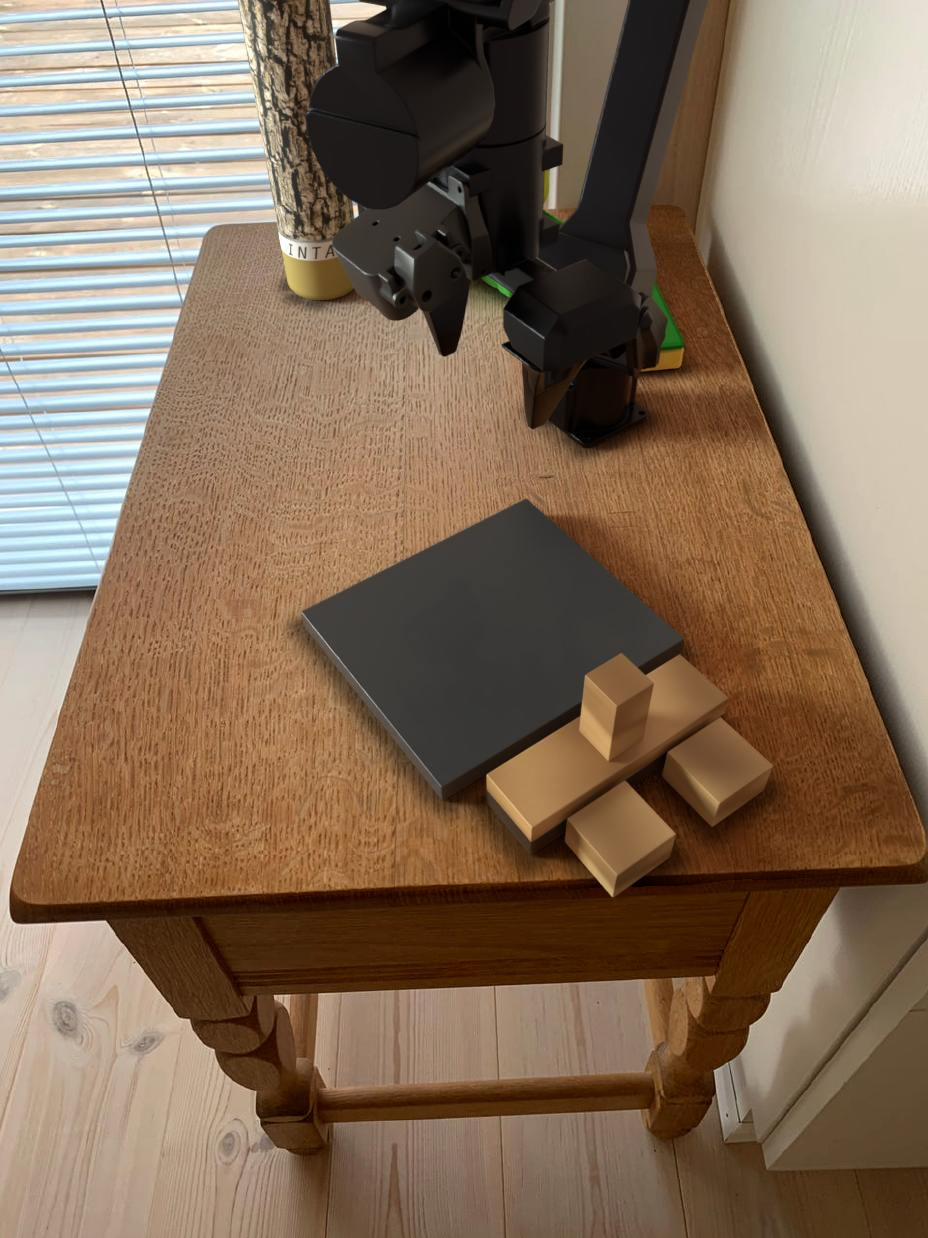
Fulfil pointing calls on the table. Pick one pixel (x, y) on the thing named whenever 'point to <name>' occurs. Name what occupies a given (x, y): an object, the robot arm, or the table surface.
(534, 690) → the serving board
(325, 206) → the paper tube
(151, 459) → the table surface
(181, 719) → the table surface
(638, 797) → the cork piece
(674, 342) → the dish sponge
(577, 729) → the brush
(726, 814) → the cork piece
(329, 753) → the table surface
